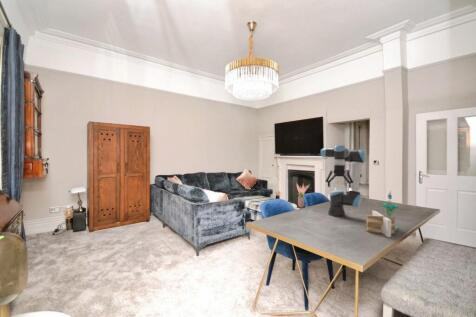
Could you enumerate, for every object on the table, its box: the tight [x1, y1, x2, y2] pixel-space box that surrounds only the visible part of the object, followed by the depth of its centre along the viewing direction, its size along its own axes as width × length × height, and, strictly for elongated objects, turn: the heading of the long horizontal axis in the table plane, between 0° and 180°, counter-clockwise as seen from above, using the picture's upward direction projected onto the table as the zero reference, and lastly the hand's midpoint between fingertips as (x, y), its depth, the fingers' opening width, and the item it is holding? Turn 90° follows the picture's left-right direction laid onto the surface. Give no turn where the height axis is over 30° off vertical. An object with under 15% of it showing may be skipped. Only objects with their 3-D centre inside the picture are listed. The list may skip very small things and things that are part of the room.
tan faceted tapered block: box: [365, 214, 396, 235], centre depth 161 cm, size 2×18×12 cm, turn 79°
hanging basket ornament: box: [381, 190, 399, 232], centre depth 170 cm, size 11×11×30 cm
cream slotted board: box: [371, 210, 392, 238], centre depth 165 cm, size 26×2×12 cm, turn 169°
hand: (338, 191), depth 172 cm, fingers open, 13 cm apart
